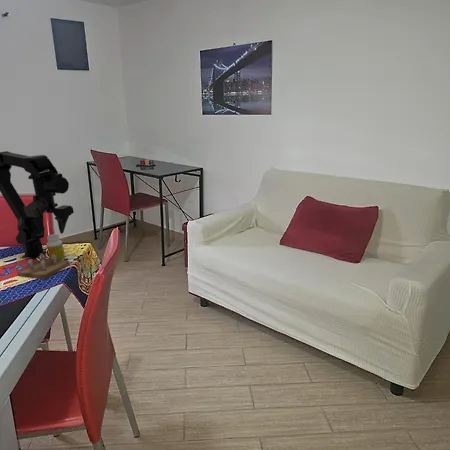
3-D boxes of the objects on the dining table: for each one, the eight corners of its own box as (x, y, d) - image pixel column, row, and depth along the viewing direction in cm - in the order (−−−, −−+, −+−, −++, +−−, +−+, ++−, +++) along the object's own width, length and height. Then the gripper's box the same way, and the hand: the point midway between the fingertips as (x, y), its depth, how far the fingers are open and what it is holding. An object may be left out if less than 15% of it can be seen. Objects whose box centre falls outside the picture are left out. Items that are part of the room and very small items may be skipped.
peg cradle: (18, 276, 140) (15, 262, 139) (43, 262, 151) (40, 249, 149) (46, 279, 136) (43, 265, 135) (69, 264, 147) (67, 252, 145)
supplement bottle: (59, 263, 149) (54, 238, 146) (47, 262, 150) (41, 238, 147) (68, 257, 154) (63, 233, 151) (55, 256, 155) (50, 233, 152)
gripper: (5, 196, 140) (15, 238, 145) (48, 198, 134) (57, 242, 139) (29, 188, 150) (37, 228, 155) (70, 190, 144) (78, 231, 149)
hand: (51, 232), depth 149 cm, fingers open, 9 cm apart
